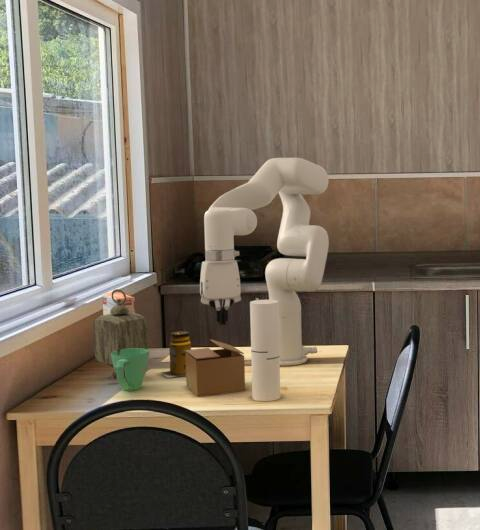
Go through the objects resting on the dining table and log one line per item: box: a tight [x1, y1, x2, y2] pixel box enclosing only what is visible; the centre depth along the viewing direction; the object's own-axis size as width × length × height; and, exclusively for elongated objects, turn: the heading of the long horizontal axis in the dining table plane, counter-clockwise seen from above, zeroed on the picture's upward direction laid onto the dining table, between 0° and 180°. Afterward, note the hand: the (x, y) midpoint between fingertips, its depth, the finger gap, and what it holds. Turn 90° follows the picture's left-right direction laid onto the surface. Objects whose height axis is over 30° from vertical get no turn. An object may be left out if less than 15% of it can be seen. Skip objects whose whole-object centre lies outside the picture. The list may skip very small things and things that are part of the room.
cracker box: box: [102, 292, 136, 315], centre depth 269 cm, size 14×6×21 cm, turn 34°
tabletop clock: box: [92, 288, 149, 379], centre depth 251 cm, size 14×9×25 cm, turn 50°
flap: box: [210, 338, 245, 355], centre depth 238 cm, size 6×12×1 cm, turn 27°
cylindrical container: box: [249, 299, 281, 402], centre depth 227 cm, size 7×7×25 cm
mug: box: [111, 348, 150, 392], centre depth 236 cm, size 15×10×10 cm
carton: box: [185, 347, 246, 397], centre depth 237 cm, size 13×12×10 cm
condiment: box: [159, 330, 192, 379], centre depth 255 cm, size 7×8×12 cm
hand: (221, 324), depth 237 cm, fingers closed
